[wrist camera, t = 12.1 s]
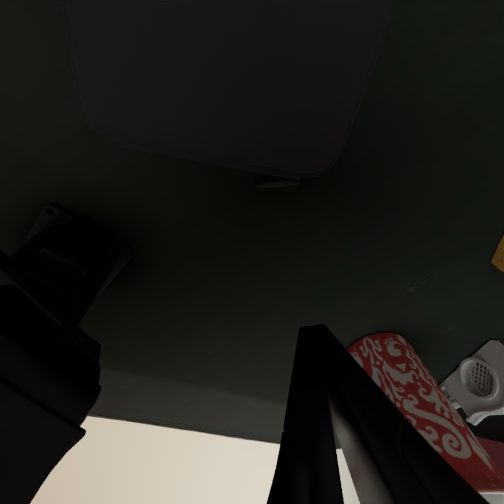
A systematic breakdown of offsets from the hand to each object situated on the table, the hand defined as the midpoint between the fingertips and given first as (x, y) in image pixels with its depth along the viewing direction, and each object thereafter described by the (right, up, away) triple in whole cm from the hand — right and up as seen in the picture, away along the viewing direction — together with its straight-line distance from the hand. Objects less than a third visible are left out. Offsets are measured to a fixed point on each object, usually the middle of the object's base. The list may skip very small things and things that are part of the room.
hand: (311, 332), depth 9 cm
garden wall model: (+24, -12, +24) cm, 36 cm away
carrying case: (-4, +13, +6) cm, 14 cm away
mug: (+11, -10, +22) cm, 27 cm away
